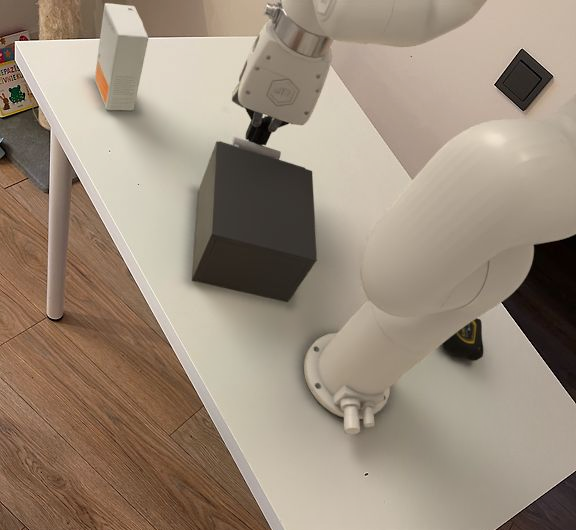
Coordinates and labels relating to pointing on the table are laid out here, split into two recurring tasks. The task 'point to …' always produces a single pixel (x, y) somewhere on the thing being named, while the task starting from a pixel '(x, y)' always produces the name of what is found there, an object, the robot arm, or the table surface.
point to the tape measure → (466, 341)
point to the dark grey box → (257, 149)
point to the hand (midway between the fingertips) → (253, 144)
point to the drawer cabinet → (254, 224)
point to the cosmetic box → (120, 56)
